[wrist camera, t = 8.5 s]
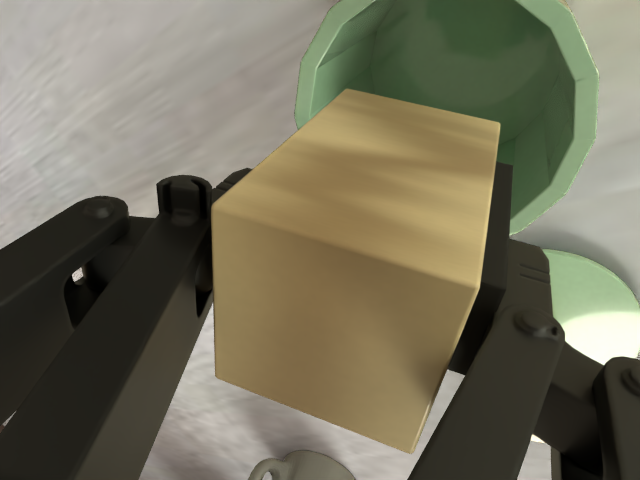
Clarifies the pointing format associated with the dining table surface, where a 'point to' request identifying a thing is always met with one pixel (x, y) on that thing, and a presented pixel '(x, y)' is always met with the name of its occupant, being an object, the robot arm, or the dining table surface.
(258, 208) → the block
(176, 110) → the dining table surface
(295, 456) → the coffee mug
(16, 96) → the dining table surface
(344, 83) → the canister
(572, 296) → the lid
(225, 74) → the dining table surface
